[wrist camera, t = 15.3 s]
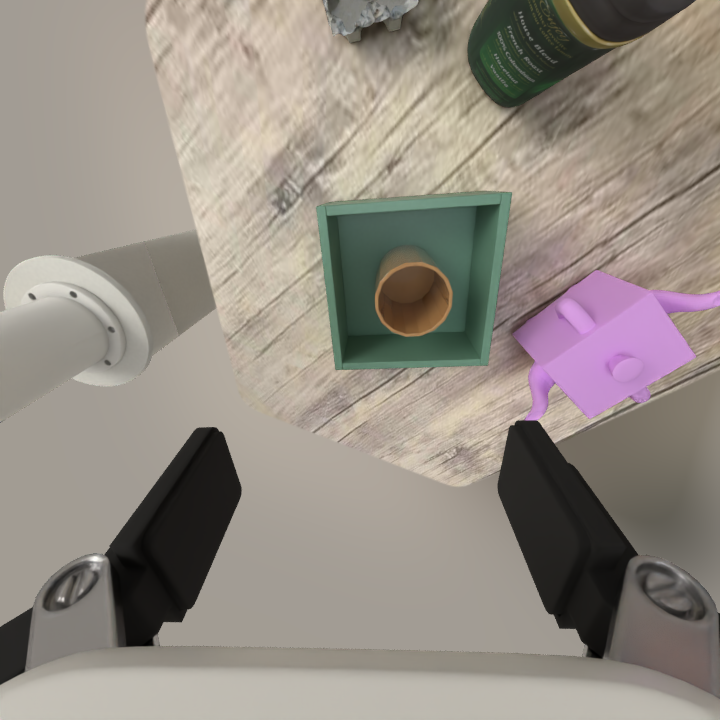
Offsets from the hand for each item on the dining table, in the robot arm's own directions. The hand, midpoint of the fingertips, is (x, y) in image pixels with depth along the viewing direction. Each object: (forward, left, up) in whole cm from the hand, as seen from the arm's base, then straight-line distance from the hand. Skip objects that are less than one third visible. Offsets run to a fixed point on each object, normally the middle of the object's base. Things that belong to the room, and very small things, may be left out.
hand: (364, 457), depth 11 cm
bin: (+3, -1, -29) cm, 29 cm away
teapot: (+22, -8, -29) cm, 38 cm away
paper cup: (+3, -1, -28) cm, 28 cm away
